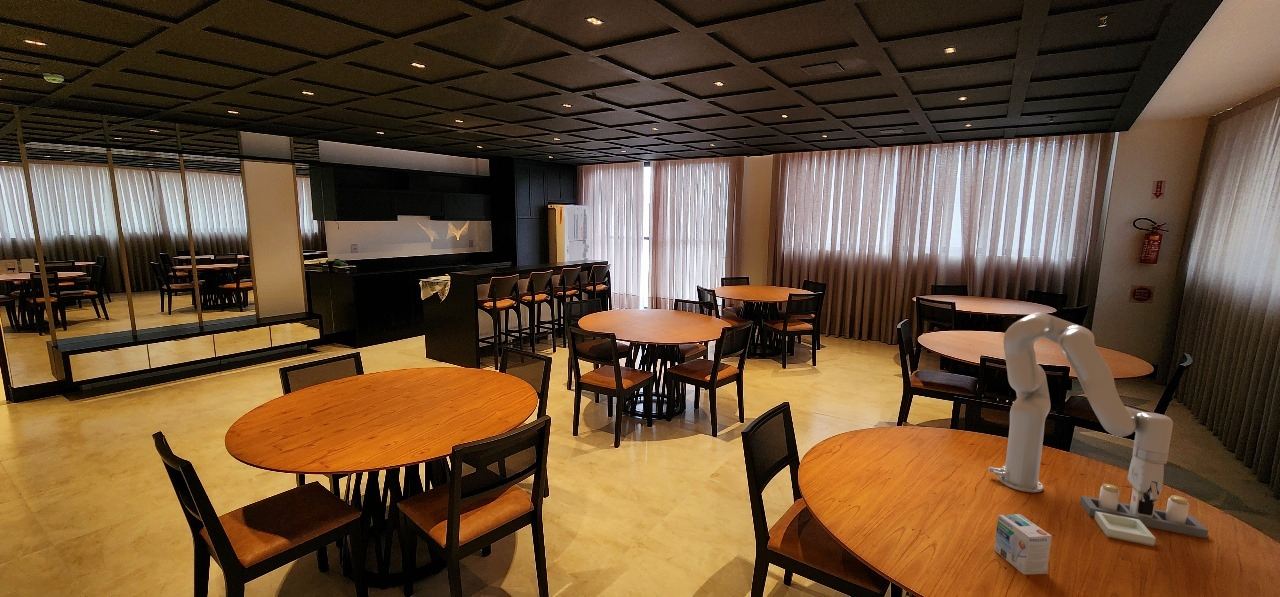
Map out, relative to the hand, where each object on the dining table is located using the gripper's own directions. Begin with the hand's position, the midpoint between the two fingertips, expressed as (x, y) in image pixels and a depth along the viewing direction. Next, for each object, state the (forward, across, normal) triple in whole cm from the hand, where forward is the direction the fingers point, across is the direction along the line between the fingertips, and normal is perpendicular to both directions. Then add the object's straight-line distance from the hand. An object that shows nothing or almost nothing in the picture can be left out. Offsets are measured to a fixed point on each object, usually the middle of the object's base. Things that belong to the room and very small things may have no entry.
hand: (1141, 509), depth 160 cm
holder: (+3, 0, 0) cm, 3 cm away
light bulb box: (+4, +42, -38) cm, 57 cm away
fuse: (+3, 0, 0) cm, 3 cm away
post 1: (+3, 0, -8) cm, 9 cm away
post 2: (+3, 0, +8) cm, 9 cm away
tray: (+3, +11, -8) cm, 14 cm away
